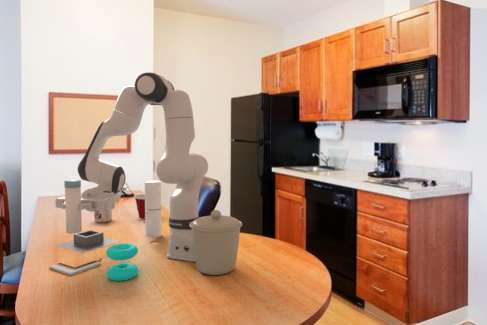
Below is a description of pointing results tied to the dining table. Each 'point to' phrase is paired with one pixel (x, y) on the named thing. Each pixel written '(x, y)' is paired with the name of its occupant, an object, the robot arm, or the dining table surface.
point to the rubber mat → (73, 270)
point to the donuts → (122, 269)
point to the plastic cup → (140, 204)
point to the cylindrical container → (153, 208)
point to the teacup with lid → (102, 215)
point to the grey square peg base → (88, 241)
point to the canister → (216, 243)
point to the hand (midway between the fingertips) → (71, 207)
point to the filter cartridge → (73, 206)
